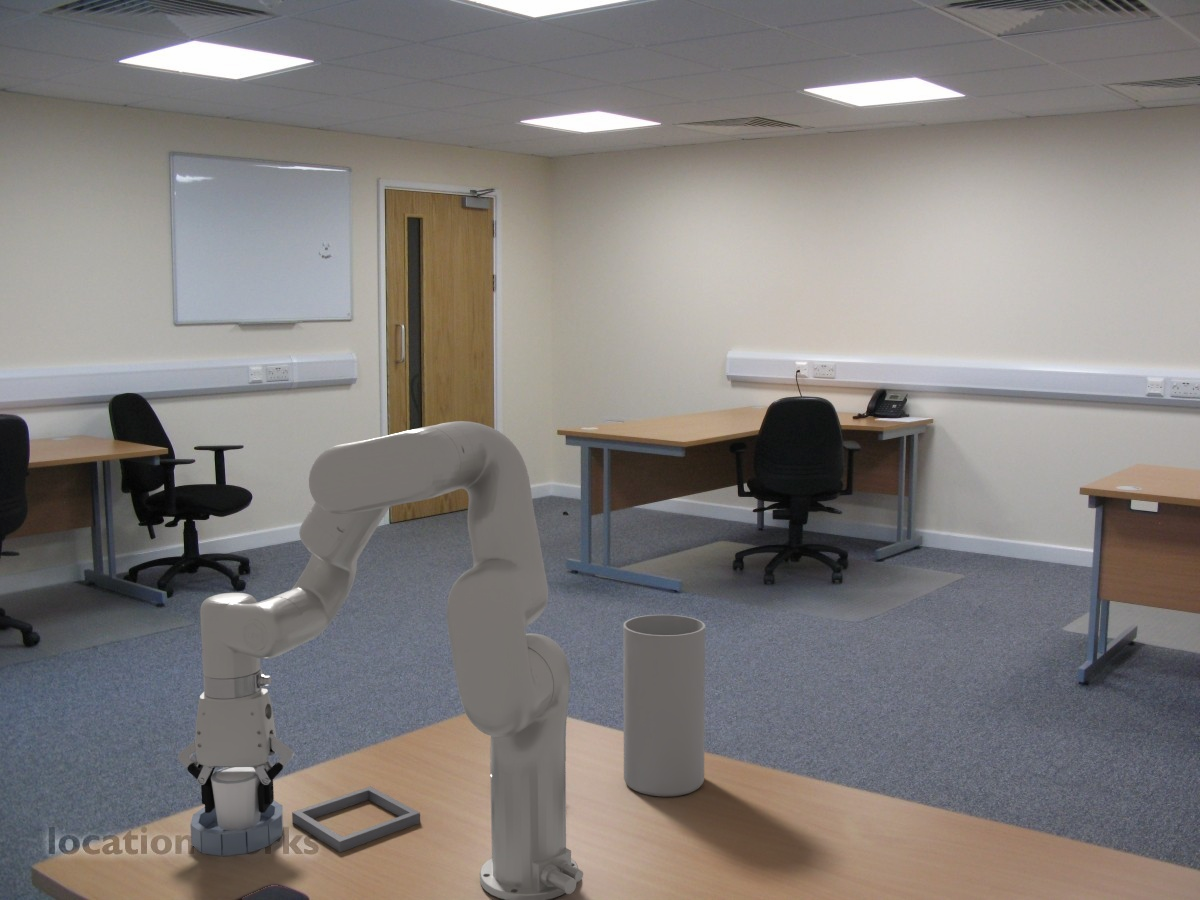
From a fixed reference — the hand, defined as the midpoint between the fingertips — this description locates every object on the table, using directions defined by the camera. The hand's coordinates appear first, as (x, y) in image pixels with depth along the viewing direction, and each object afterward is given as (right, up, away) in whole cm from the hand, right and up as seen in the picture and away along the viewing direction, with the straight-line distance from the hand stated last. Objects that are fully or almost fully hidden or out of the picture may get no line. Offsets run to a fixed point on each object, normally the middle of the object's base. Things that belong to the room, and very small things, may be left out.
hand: (238, 807), depth 154 cm
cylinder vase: (+60, -2, +18) cm, 63 cm away
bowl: (0, -4, 0) cm, 4 cm away
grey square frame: (+15, -4, +4) cm, 16 cm away
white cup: (0, -2, 0) cm, 2 cm away
